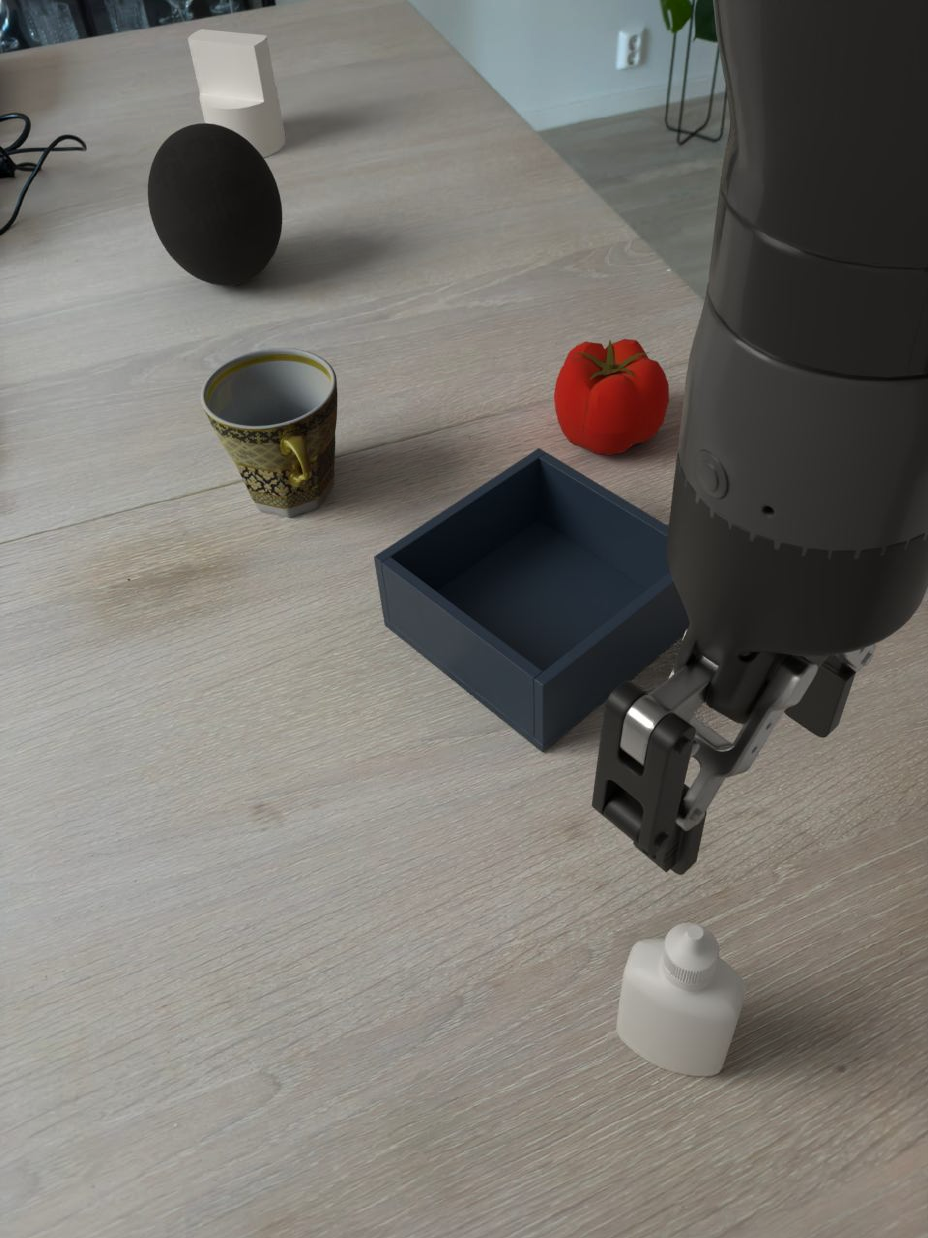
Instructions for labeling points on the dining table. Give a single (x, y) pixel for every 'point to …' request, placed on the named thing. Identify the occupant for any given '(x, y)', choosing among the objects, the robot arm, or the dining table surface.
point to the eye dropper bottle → (680, 1001)
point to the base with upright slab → (238, 86)
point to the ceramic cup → (277, 425)
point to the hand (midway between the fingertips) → (739, 784)
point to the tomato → (610, 396)
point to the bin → (535, 595)
